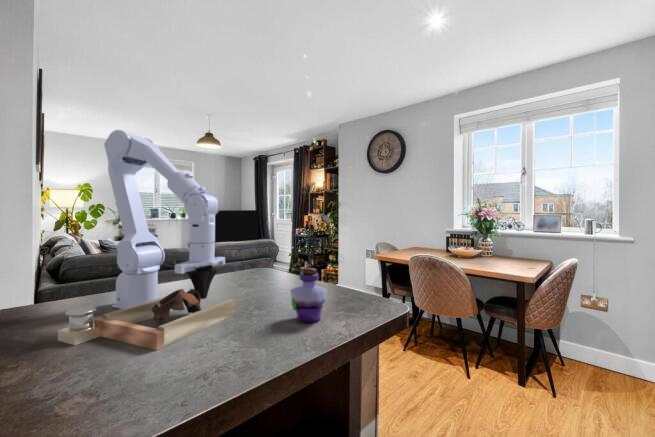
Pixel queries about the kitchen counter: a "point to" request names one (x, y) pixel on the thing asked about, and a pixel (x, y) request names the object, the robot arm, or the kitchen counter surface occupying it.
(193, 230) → the robot arm
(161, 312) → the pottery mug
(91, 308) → the winch drum
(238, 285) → the kitchen counter surface
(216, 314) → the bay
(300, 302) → the potion bottle
